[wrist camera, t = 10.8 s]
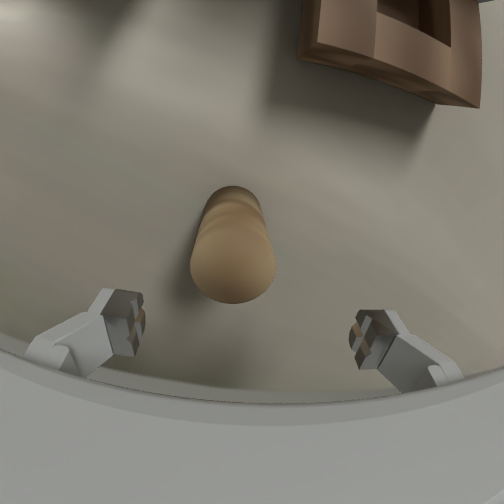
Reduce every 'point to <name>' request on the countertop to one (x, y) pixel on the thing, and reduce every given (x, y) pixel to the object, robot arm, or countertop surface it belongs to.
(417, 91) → the block
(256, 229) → the dowel
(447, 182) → the countertop surface
